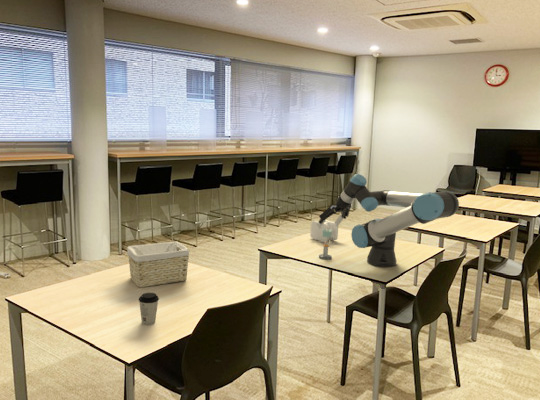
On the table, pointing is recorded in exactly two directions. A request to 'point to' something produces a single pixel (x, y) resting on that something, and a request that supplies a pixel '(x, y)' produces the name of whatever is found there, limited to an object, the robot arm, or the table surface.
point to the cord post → (325, 250)
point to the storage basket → (158, 263)
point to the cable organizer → (318, 233)
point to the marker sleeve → (326, 233)
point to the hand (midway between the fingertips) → (327, 225)
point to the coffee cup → (148, 308)
